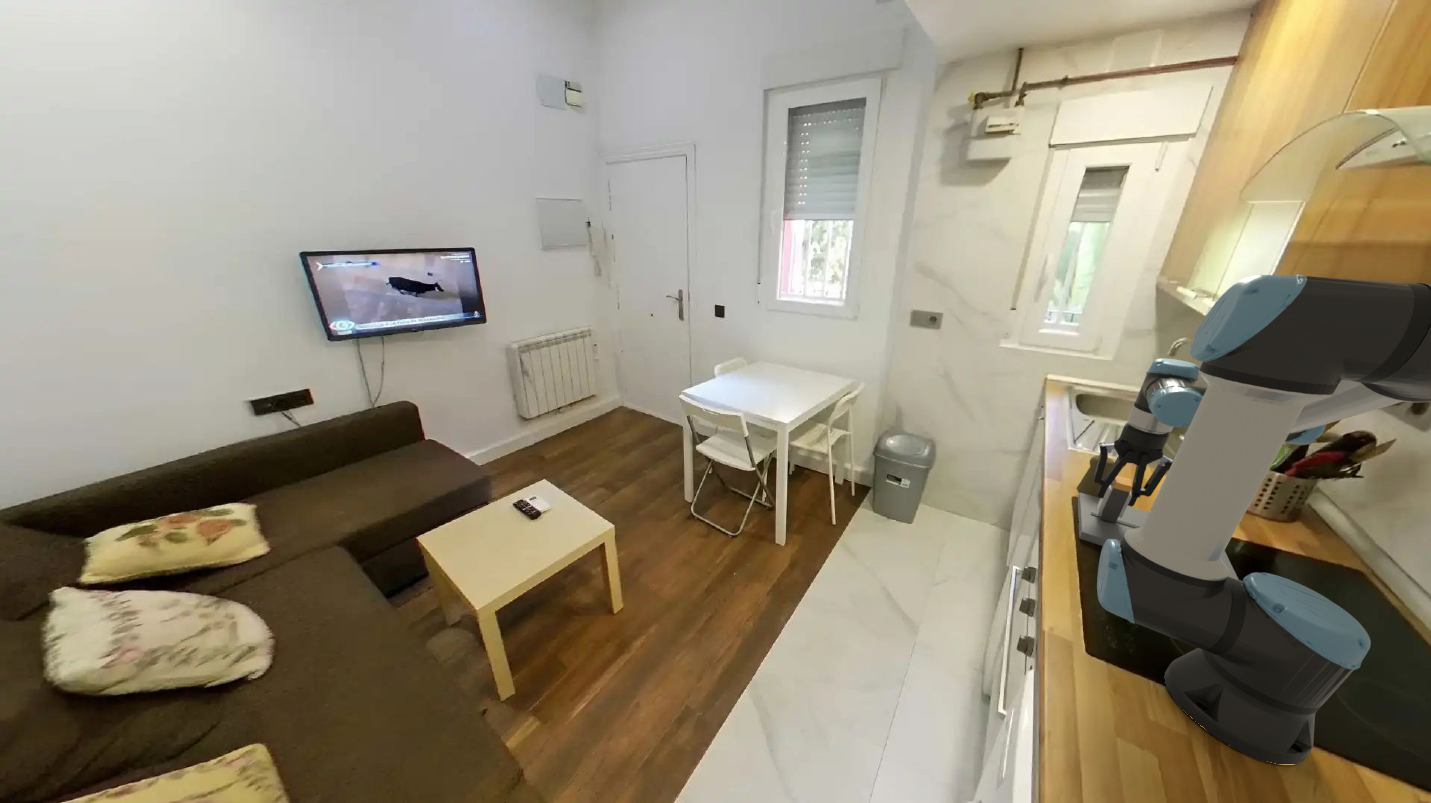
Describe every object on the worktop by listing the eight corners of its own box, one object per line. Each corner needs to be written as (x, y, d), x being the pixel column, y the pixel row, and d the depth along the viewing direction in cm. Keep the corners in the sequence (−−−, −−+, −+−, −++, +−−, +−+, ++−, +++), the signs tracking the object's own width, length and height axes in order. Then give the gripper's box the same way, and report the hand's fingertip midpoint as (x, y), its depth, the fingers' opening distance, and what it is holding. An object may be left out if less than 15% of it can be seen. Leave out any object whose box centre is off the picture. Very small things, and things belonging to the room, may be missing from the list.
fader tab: (1115, 523, 107) (1132, 486, 103) (1099, 518, 109) (1115, 482, 104) (1114, 514, 110) (1130, 479, 106) (1098, 510, 112) (1114, 474, 107)
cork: (1108, 499, 120) (1124, 465, 116) (1083, 496, 121) (1098, 462, 117) (1096, 487, 126) (1110, 453, 121) (1072, 484, 127) (1085, 451, 122)
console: (1235, 589, 92) (1240, 581, 91) (1079, 538, 106) (1082, 530, 105) (1211, 537, 107) (1215, 529, 106) (1077, 498, 121) (1080, 491, 120)
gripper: (1193, 430, 98) (1150, 516, 107) (1101, 412, 106) (1068, 493, 116) (1201, 443, 92) (1155, 533, 102) (1103, 423, 101) (1069, 507, 110)
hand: (1109, 511), depth 109 cm, fingers closed on fader tab, 3 cm apart
